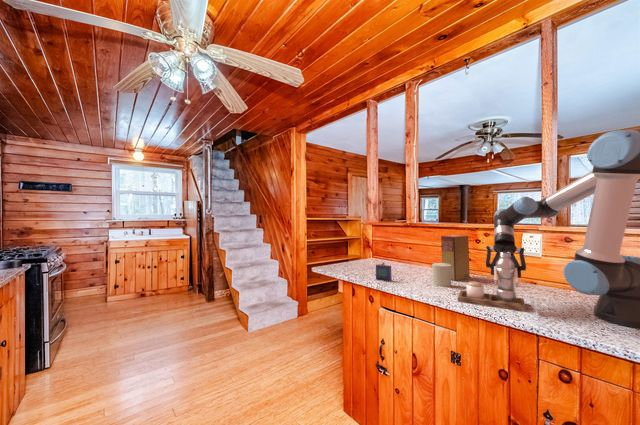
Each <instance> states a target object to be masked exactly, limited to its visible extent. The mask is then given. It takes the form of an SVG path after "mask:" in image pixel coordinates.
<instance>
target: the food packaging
mask: <svg viewBox="0 0 640 425" xmlns="http://www.w3.org/2000/svg"><path fill="white" fill-rule="evenodd" d="M440 237H441V238H440V239H441V241H440V242H441V245H440V246H441V263H447V264H450V265H451V281H454V282H457V281H463V280H468V279H470V278H471V277H470V276H471V275H470V250H469V248H470V247H469V235H466V234H465V235H462V234H450V235H441V236H440Z"/></svg>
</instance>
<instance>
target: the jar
mask: <svg viewBox="0 0 640 425" xmlns="http://www.w3.org/2000/svg"><path fill="white" fill-rule="evenodd" d="M484 289H485V288H484V285H483V284H482V282H479V281H473V280H471V281H468V282H467V283H466V291H467V297H468V298H475V299H482V300H484V293H485V291H484Z"/></svg>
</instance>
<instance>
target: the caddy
mask: <svg viewBox="0 0 640 425" xmlns="http://www.w3.org/2000/svg"><path fill="white" fill-rule="evenodd" d="M457 302H458V303H466V304H472V305H479V306H486V307H492V308H496V309H497V308H498V309H505V310H510V311H511V310H513V311H517V312H527V311H526V310H527V309H526V303H525V299H524V298H523V297H517V296H516V300H515V301H514V302H506V301H502V300H499V299H498V298H497V294H493V293H486V292H484V300H482V299H475V298H468V297H467V290H462V289H461V290H460V292H459V294H458V295H457Z"/></svg>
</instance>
